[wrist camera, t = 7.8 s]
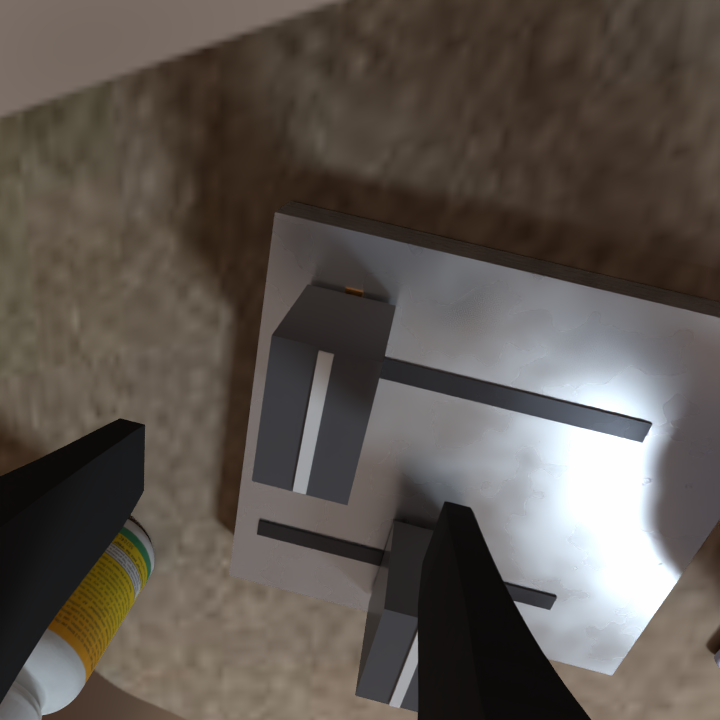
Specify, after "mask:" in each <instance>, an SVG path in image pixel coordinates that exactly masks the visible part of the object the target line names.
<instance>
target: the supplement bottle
mask: <svg viewBox="0 0 720 720" xmlns="http://www.w3.org/2000/svg"><path fill="white" fill-rule="evenodd" d="M153 568H154V552H153V547H152V545H151V542H150V540H149V538H148V537H147V535H146V534H145V533H144V531H143V530H142V529H141V528H140V527H139V526H138V525H136V524H135V523H134V522H132V521H131V520H129V519H127V521H126V523H125V524H124V526H123V528H122V529H121V531H120V532H119V533H118V535H117V536H116V537H115V539H114V540H113V541H112V543H111V544H110V545H109V547H108V548H107V549H106V551H105V552H104V553H103V555H102V556H101V557H100V559H99V560H98V561H97V562H96V564H95V565H94V566H93V568H92V569H91V570H90V572H89V573H88V574H87V576H86V577H85V578H84V579H83V581H82V582H81V583H80V585H79V586H78V587H77V589H76V590H75V591H74V592H73V594H72V595H71V596H70V598H69V599H68V600H67V602H66V603H65V604H64V606H63V607H62V608H61V609H60V611H59V612H58V614H57V615H56V616H55V618H54V619H53V621H52V622H51V624H50V625H49V626H48V628H47V629H46V631H45V632H44V634H43V636H42V637H41V639H40V640H39V642H38V644H37V645H36V647H35V648H34V650H33V652H32V653H31V655H30V656H29V658H28V659H27V661H26V663H25V664H24V666H23V667H22V669H21V671H20V672H19V674H18V676H17V677H16V679H15V681H14V682H13V684H12V686H11V687H10V689H9V691H8V692H7V694H6V696H5V697H4V699H3V701H2V702H1V704H0V720H41V718H42V715H46V714H50V713H52V712H56V711H57V710H60V709H62V708H63V707H65V706H66V705H68V704H69V703H70V702H71V701H73V700H74V699H75V697H76V696H77V695H78V694H79V692H80V691H81V689H82V687H83V686H84V684H85V683H86V681H87V680H88V678H89V676H90V675H91V673H92V671H93V670H94V668H95V666H96V665H97V663H98V661H99V659H100V658H101V656H102V654H103V653H104V651H105V649H106V648H107V646H108V644H109V643H110V641H111V640H112V638H113V636H114V635H115V633H116V631H117V630H118V628H119V626H120V625H121V623H122V621H123V620H124V618H125V617H126V615H127V613H128V612H129V610H130V608H131V607H132V605H133V603H134V602H135V600H136V598H137V597H138V595H139V593H140V592H141V590H142V589H143V587H144V585H145V584H146V582H147V580H148V579H149V577H150V575H151V573H152V571H153Z"/></svg>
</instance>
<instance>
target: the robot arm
mask: <svg viewBox="0 0 720 720" xmlns="http://www.w3.org/2000/svg"><path fill="white" fill-rule="evenodd" d="M144 450H145V425H144V424H140V423H136V422H132V421H128V420H124V419H118V420H116V421H114V422H112V423H110V424H108V425H106V426H104V427H102V428H100V429H98V430H96V431H94V432H92V433H90V434H88V435H86V436H84V437H82V438H80V439H78V440H76V441H74V442H72V443H70V444H68V445H66V446H64V447H62V448H60V449H58V450H56V451H54V452H52V453H50V454H48V455H46V456H44V457H42V458H40V459H38V460H36V461H34V462H31V463H29V464H27V465H25V466H23V467H20V468H18V469H16V470H14V471H11V472H9V473H7V474H5V475H2V476H0V704H1V702H2V701H3V699H4V697H5V696H6V694H7V692H8V691H9V689H10V687H11V686H12V684H13V682H14V681H15V679H16V677H17V676H18V674H19V672H20V671H21V669H22V667H23V666H24V664H25V663H26V661H27V659H28V658H29V656H30V655H31V653H32V652H33V650H34V648H35V647H36V645H37V644H38V642H39V640H40V639H41V637H42V636H43V634H44V632H45V631H46V629H47V628H48V626H49V625H50V624H51V622H52V621H53V619H54V618H55V616H56V615H57V614H58V612H59V611H60V609H61V608H62V607H63V606H64V604H65V603H66V602H67V600H68V599H69V598H70V596H71V595H72V594H73V592H74V591H75V590H76V589H77V587H78V586H79V585H80V583H81V582H82V581H83V579H84V578H85V577H86V576H87V574H88V573H89V572H90V570H91V569H92V568H93V566H94V565H95V564H96V562H97V561H98V560H99V559H100V557H101V556H102V555H103V553H104V552H105V551H106V549H107V548H108V547H109V545H110V544H111V543H112V541H113V540H114V539H115V537H116V536H117V535H118V533H119V532H120V531H121V529H122V528H123V526H124V524H125V523H126V521H127V519H128V518H129V516H130V514H131V513H132V511H133V509H134V507H135V506H136V504H137V502H138V500H139V499H140V497H141V495H142V493H143V491H144ZM714 659H715V662H716V664H717V666H718V667H719V668H720V649H719V651H718V652H717V653H716V654H715V656H714ZM418 720H591V719H590V718H589V716H588V715H587V714H586V712H585V711H584V710H583V708H582V707H581V706H580V704H579V703H578V702H577V700H576V699H575V698H574V697H573V695H572V694H571V693H570V691H569V690H568V689H567V687H566V686H565V684H564V683H563V681H562V680H561V679H560V677H559V676H558V674H557V673H556V671H555V670H554V668H553V667H552V665H551V664H550V662H549V661H548V659H547V657H546V656H545V654H544V653H543V651H542V650H541V648H540V646H539V645H538V643H537V641H536V640H535V638H534V636H533V635H532V633H531V631H530V630H529V628H528V626H527V624H526V623H525V621H524V619H523V617H522V615H521V614H520V612H519V610H518V608H517V606H516V604H515V603H514V601H513V599H512V597H511V595H510V593H509V591H508V589H507V587H506V585H505V583H504V581H503V579H502V577H501V575H500V573H499V570H498V568H497V566H496V564H495V562H494V560H493V558H492V555H491V553H490V551H489V548H488V546H487V544H486V542H485V539H484V537H483V534H482V532H481V529H480V527H479V524H478V522H477V519H476V517H475V514H474V512H473V510H472V509H471V507H467V506H463V505H459V504H455V503H452V502H448V501H444V504H443V507H442V510H441V513H440V515H439V518H438V521H437V524H436V526H435V529H434V532H433V535H432V537H431V540H430V543H429V546H428V548H427V551H426V554H425V557H424V560H423V562H422V570H421V579H420V588H419V598H418Z"/></svg>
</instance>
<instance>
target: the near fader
mask: <svg viewBox="0 0 720 720" xmlns="http://www.w3.org/2000/svg"><path fill="white" fill-rule="evenodd" d="M395 308H396V305H392V304H388V303H384V302H379V301H375V300H371V299H367V298H363V297H359V296H355V295H350V294H346V293H342V292H338V291H334V290H330V289H326V288H321V287H317V286H313V285H309V284H307V286H306V287H305V289H304V290H303V292H302V293H301V294H300V296H299V297H298V299H297V300H296V301H295V303H294V304H293V306H292V307H291V309H290V310H289V311H288V313H287V314H286V316H285V317H284V318H283V320H282V321H281V323H280V324H279V326H278V327H277V328H276V330H275V331H274V333H273V334H272V337H271V344H270V351H269V358H268V366H267V373H266V380H265V388H264V395H263V402H262V409H261V417H260V424H259V431H258V439H257V446H256V453H255V460H254V468H253V475H252V481H253V482H257V483H261V484H265V485H269V486H273V487H277V488H281V489H285V490H289V491H293V492H297V493H301V494H304V495H308V496H312V497H316V498H320V499H324V500H328V501H332V502H336V503H340V504H344V505H348V501H349V497H350V493H351V489H352V485H353V481H354V477H355V473H356V469H357V465H358V461H359V457H360V453H361V450H362V446H363V442H364V438H365V434H366V430H367V426H368V422H369V418H370V414H371V410H372V406H373V402H374V398H375V394H376V390H377V386H378V382H379V378H380V374H381V370H382V366H383V362H384V357H385V353H386V349H387V344H388V340H389V335H390V331H391V326H392V322H393V317H394V313H395Z"/></svg>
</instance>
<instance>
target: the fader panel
mask: <svg viewBox="0 0 720 720" xmlns="http://www.w3.org/2000/svg"><path fill="white" fill-rule="evenodd" d="M307 284H309V285H313V286H317V287H321V288H326V289H330V290H334V291H338V292H342V293H346V294H350V295H355V296H359V297H363V298H367V299H371V300H375V301H379V302H384V303H388V304H392V305H396V308H395V313H394V317H393V322H392V326H391V331H390V335H389V340H388V344H387V349H386V353H385V357H384V362H383V366H382V370H381V374H380V378H379V382H378V386H377V390H376V394H375V398H374V402H373V406H372V410H371V414H370V418H369V422H368V426H367V430H366V434H365V438H364V442H363V446H362V450H361V453H360V457H359V461H358V465H357V469H356V473H355V477H354V481H353V485H352V489H351V493H350V497H349V501H348V505H344V504H340V503H336V502H332V501H328V500H324V499H320V498H316V497H312V496H308V495H304V494H301V493H297V492H293V491H289V490H285V489H281V488H277V487H273V486H269V485H265V484H261V483H257V482H253V481H252V475H253V468H254V460H255V453H256V446H257V439H258V431H259V424H260V417H261V409H262V402H263V395H264V388H265V380H266V373H267V366H268V358H269V351H270V344H271V337H272V334H273V333H274V331H275V330H276V328H277V327H278V326H279V324H280V323H281V321H282V320H283V318H284V317H285V316H286V314H287V313H288V311H289V310H290V309H291V307H292V306H293V304H294V303H295V301H296V300H297V299H298V297H299V296H300V294H301V293H302V292H303V290H304V289H305V287H306V286H307ZM444 501H448V502H452V503H455V504H459V505H463V506H467V507H471V509H472V510H473V512H474V514H475V517H476V519H477V522H478V524H479V527H480V529H481V532H482V534H483V537H484V539H485V542H486V544H487V546H488V548H489V551H490V553H491V555H492V558H493V560H494V562H495V564H496V566H497V568H498V570H499V573H500V575H501V577H502V579H503V581H504V583H505V585H506V587H507V589H508V591H509V593H510V595H511V597H512V599H513V601H514V603H515V604H516V606H517V608H518V610H519V612H520V614H521V615H522V617H523V619H524V621H525V623H526V624H527V626H528V628H529V630H530V631H531V633H532V635H533V636H534V638H535V640H536V641H537V643H538V645H539V646H540V648H541V650H542V651H543V653H544V654H545V656H546V657H547V659H551V660H555V661H559V662H563V663H566V664H570V665H574V666H578V667H582V668H586V669H589V670H593V671H597V672H601V673H605V674H608V675H613V673H614V672H615V670H616V669H617V667H618V666H619V664H620V663H621V662H622V660H623V659H624V657H625V656H626V654H627V653H628V651H629V650H630V648H631V647H632V646H633V644H634V643H635V641H636V640H637V638H638V637H639V635H640V634H641V633H642V631H643V630H644V628H645V627H646V625H647V624H648V622H649V621H650V620H651V618H652V617H653V615H654V614H655V612H656V611H657V609H658V608H659V607H660V605H661V604H662V602H663V601H664V599H665V598H666V596H667V595H668V593H669V592H670V591H671V589H672V588H673V586H674V585H675V583H676V582H677V580H678V579H679V578H680V576H681V575H682V573H683V572H684V570H685V569H686V567H687V566H688V565H689V563H690V562H691V560H692V559H693V557H694V556H695V554H696V553H697V552H698V550H699V549H700V547H701V546H702V544H703V543H704V541H705V540H706V539H707V537H708V536H709V534H710V533H711V531H712V530H713V528H714V527H715V525H716V524H717V523H718V521H719V520H720V302H716V301H712V300H708V299H703V298H699V297H695V296H691V295H687V294H682V293H678V292H674V291H670V290H665V289H661V288H657V287H653V286H649V285H644V284H640V283H636V282H632V281H627V280H623V279H619V278H615V277H611V276H606V275H602V274H598V273H594V272H589V271H585V270H581V269H577V268H573V267H568V266H564V265H560V264H556V263H551V262H547V261H543V260H539V259H535V258H530V257H526V256H522V255H518V254H513V253H509V252H505V251H501V250H497V249H492V248H488V247H484V246H480V245H475V244H471V243H467V242H463V241H459V240H454V239H450V238H446V237H442V236H437V235H433V234H429V233H425V232H421V231H416V230H412V229H408V228H404V227H399V226H395V225H391V224H387V223H383V222H378V221H374V220H370V219H366V218H361V217H357V216H353V215H349V214H345V213H340V212H336V211H332V210H328V209H323V208H319V207H315V206H311V205H307V204H302V203H298V202H294V201H290V202H288V203H287V204H285V205H284V206H283V207H281V208H280V209H278V210H277V211H276V212H275V215H274V223H273V231H272V239H271V247H270V254H269V262H268V270H267V278H266V286H265V294H264V302H263V310H262V318H261V326H260V334H259V342H258V350H257V358H256V366H255V374H254V382H253V390H252V398H251V406H250V414H249V422H248V430H247V438H246V446H245V454H244V462H243V470H242V478H241V486H240V494H239V502H238V510H237V517H236V525H235V533H234V541H233V549H232V557H231V565H230V573H229V576H233V577H237V578H241V579H245V580H249V581H252V582H256V583H260V584H264V585H268V586H272V587H275V588H279V589H283V590H287V591H291V592H294V593H298V594H302V595H306V596H310V597H314V598H317V599H321V600H325V601H329V602H333V603H337V604H340V605H344V606H348V607H352V608H356V609H360V610H363V611H367V612H368V605H369V600H370V597H371V594H372V591H373V588H374V584H375V581H376V578H377V575H378V572H379V568H380V565H381V562H382V559H383V555H384V552H385V549H386V546H387V543H388V539H389V536H390V533H391V530H392V526H393V523H394V521H398V522H402V523H406V524H410V525H414V526H417V527H421V528H425V529H429V530H433V531H434V529H435V526H436V524H437V521H438V518H439V515H440V513H441V510H442V507H443V504H444Z"/></svg>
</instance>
